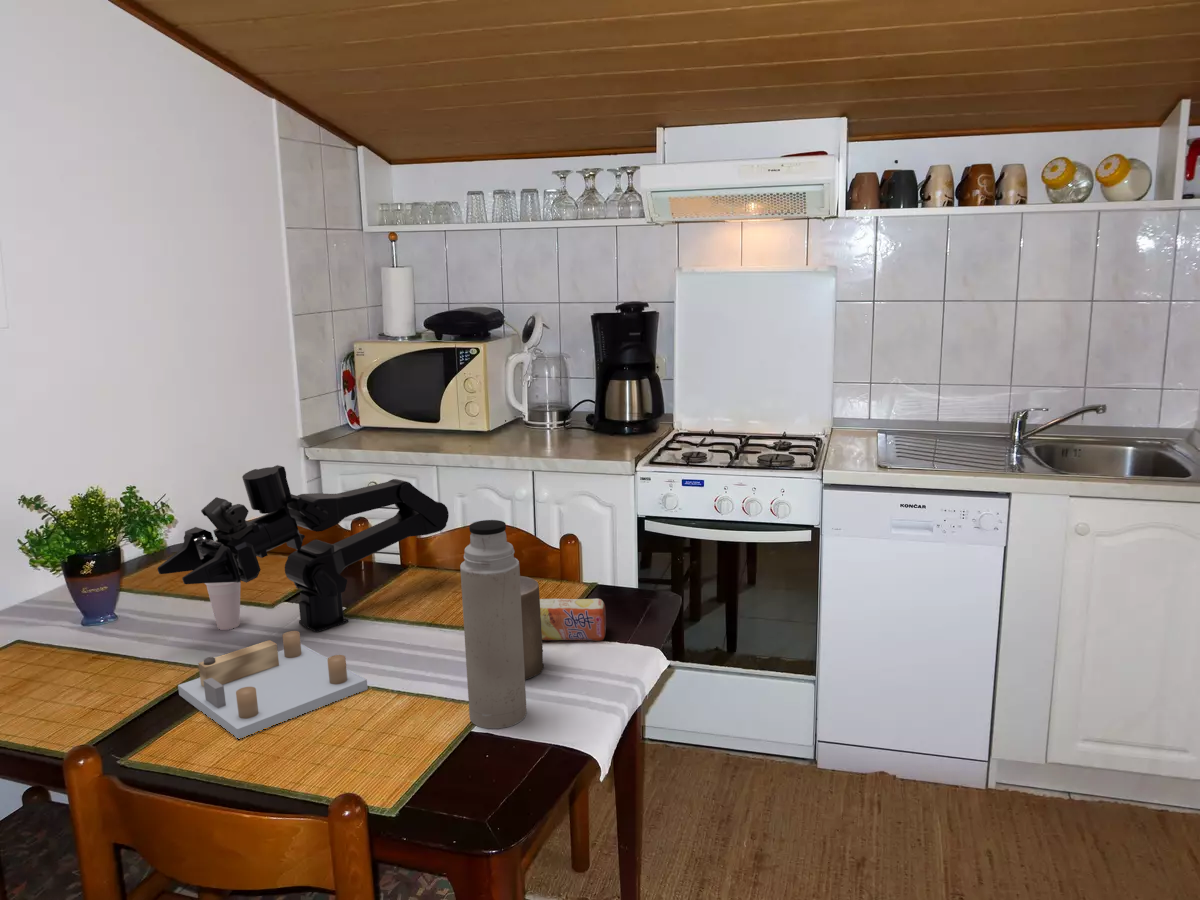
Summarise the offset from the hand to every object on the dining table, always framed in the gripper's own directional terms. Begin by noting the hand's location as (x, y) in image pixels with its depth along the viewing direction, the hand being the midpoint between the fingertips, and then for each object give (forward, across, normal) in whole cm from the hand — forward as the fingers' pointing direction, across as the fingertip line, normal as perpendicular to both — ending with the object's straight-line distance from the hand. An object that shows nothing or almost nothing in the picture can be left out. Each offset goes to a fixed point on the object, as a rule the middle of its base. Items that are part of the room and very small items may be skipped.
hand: (170, 576), depth 146 cm
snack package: (-42, +34, +26) cm, 60 cm away
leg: (-1, +12, +15) cm, 19 cm away
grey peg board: (-2, +18, +18) cm, 25 cm away
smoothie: (-11, -13, +18) cm, 25 cm away
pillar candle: (-30, +39, +24) cm, 55 cm away
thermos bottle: (-19, +49, +22) cm, 57 cm away
